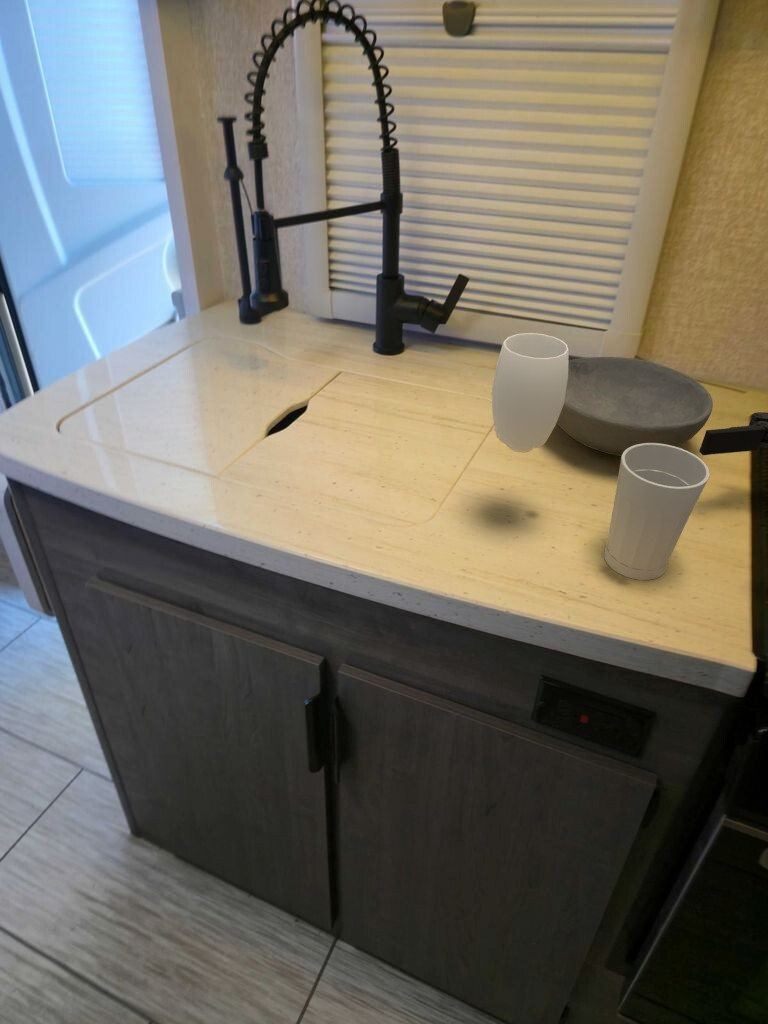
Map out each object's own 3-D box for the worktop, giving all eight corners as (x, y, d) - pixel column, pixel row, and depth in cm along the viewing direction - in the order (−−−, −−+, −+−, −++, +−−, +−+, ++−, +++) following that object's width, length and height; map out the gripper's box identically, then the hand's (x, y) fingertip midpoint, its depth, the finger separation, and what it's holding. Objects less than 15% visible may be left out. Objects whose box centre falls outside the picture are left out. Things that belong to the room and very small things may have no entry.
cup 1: (471, 499, 79) (489, 331, 66) (530, 496, 79) (560, 329, 67) (484, 538, 73) (508, 362, 60) (548, 534, 74) (585, 359, 61)
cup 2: (591, 573, 69) (617, 476, 61) (601, 529, 74) (626, 436, 67) (672, 594, 66) (709, 496, 59) (676, 546, 72) (710, 452, 65)
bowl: (516, 458, 86) (524, 402, 81) (552, 391, 101) (561, 341, 97) (689, 499, 79) (709, 441, 75) (700, 421, 95) (718, 369, 90)
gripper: (1015, 566, 62) (810, 591, 59) (829, 431, 81) (668, 445, 78) (1066, 501, 57) (847, 525, 54) (856, 374, 77) (686, 387, 74)
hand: (741, 478), depth 66 cm, fingers open, 13 cm apart
